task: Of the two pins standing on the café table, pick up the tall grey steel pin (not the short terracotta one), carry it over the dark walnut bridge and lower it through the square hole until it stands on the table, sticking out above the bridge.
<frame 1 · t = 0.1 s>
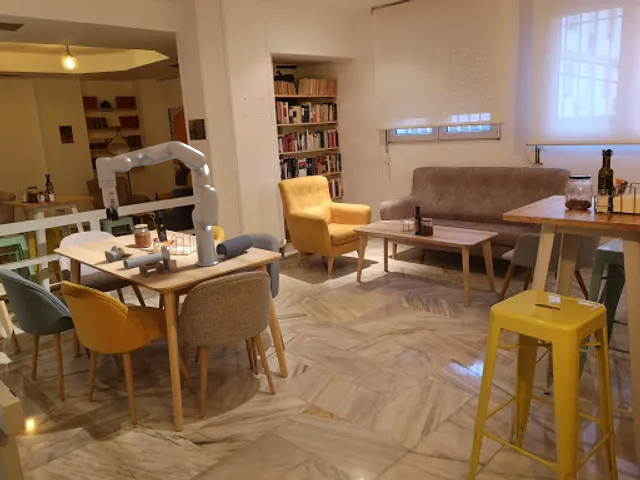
hand: (112, 219, 244), 31 cm above the table, fingers open, 9 cm apart
tube: (147, 264, 283), on the table
walnut bridge: (152, 273, 262), on the table
clay pin short: (173, 271, 263), on the table
bluetooth speaker: (235, 255, 290), on the table, touching arm
steel pin long: (167, 268, 269), on the table
ceramic sculpture: (117, 260, 294), on the table
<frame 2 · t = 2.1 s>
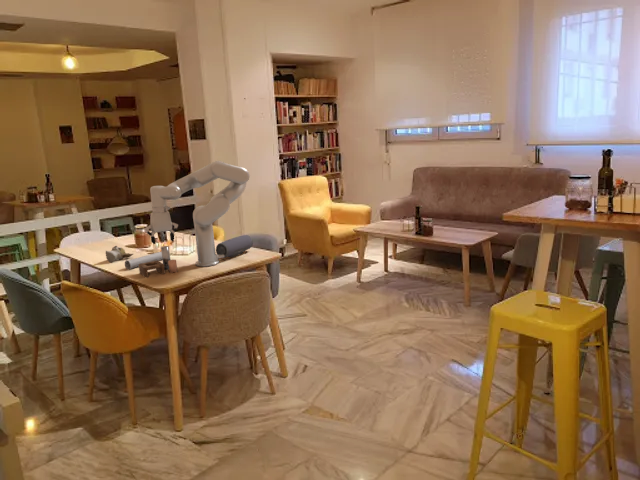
hand: (163, 242, 266), 15 cm above the table, fingers open, 9 cm apart
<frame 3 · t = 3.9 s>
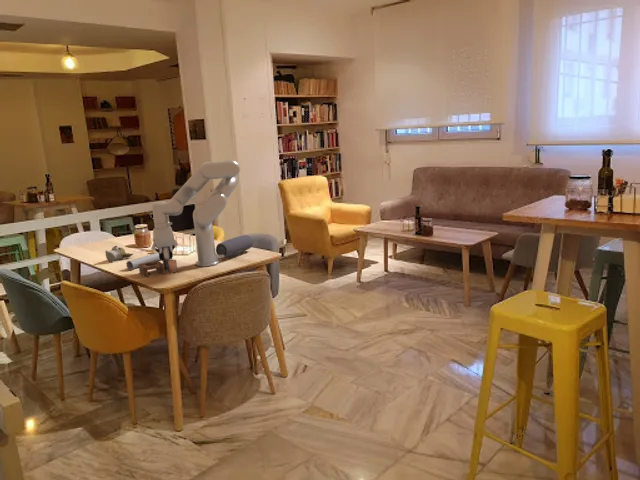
hand: (166, 259, 268), 5 cm above the table, fingers closed on steel pin long, 4 cm apart
steel pin long: (167, 268, 269), on the table, touching gripper
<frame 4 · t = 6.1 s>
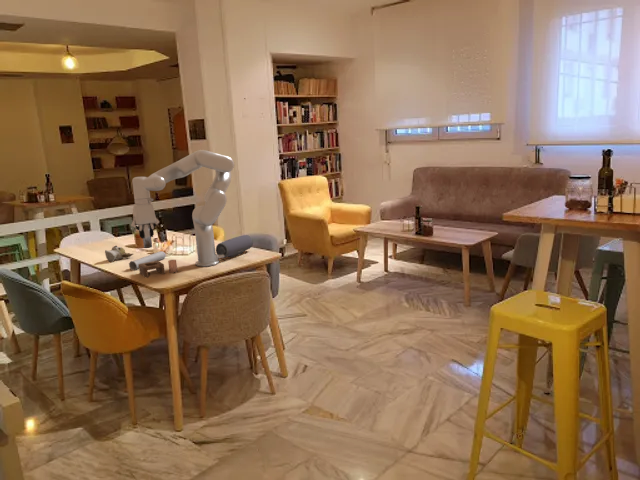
hand: (146, 237, 258), 19 cm above the table, fingers closed on steel pin long, 4 cm apart
steel pin long: (148, 247, 259), point 14 cm above the table, touching gripper
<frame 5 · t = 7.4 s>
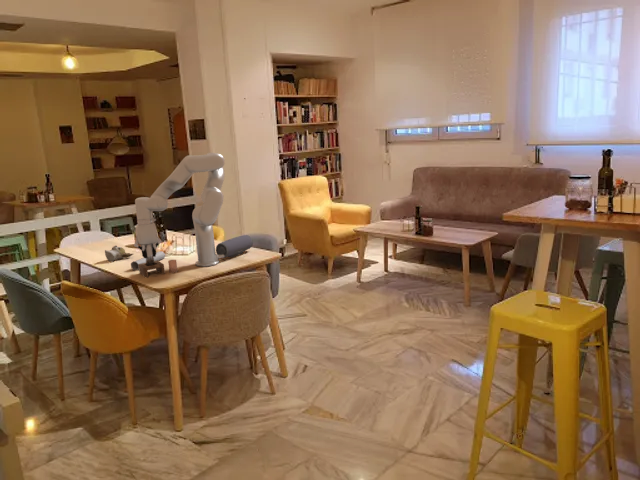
hand: (149, 256, 260), 9 cm above the table, fingers closed on steel pin long, 4 cm apart
steel pin long: (150, 266, 261), point 4 cm above the table, touching gripper
when the fingers open (7 cm above the table, at t = 8.5 s): steel pin long drops 1 cm, on the table.
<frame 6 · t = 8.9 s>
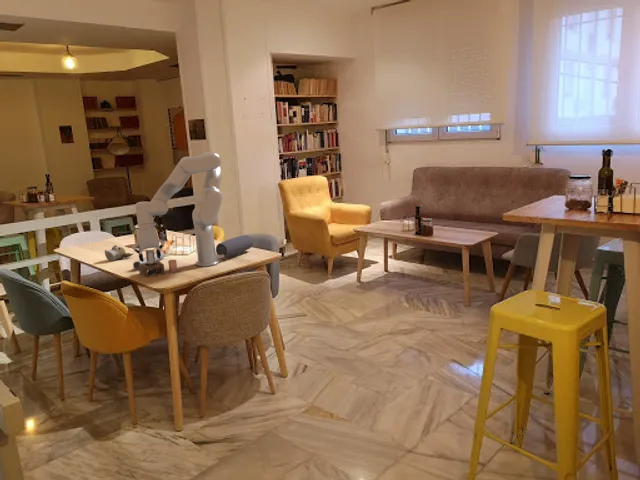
hand: (150, 259, 260), 7 cm above the table, fingers open, 8 cm apart
steel pin long: (152, 273, 262), on the table
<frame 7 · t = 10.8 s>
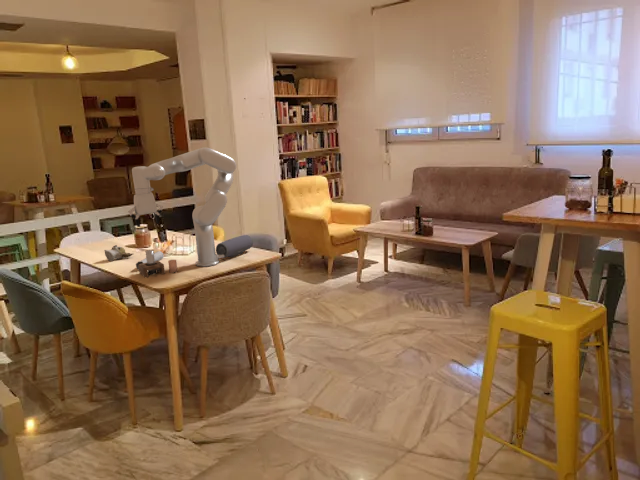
hand: (148, 224, 258), 25 cm above the table, fingers open, 9 cm apart
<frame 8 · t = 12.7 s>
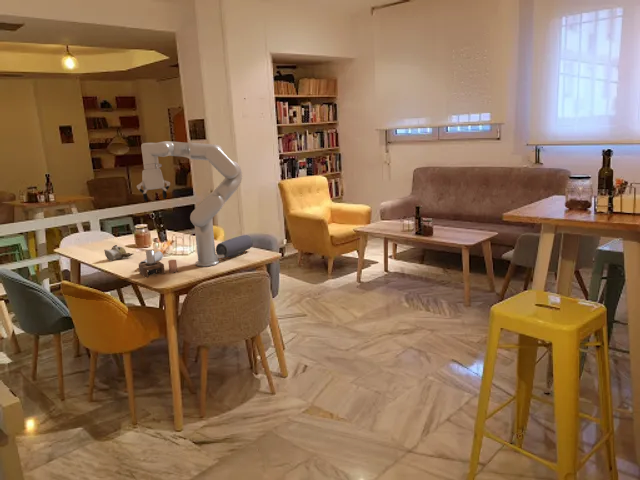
hand: (155, 199, 266), 36 cm above the table, fingers open, 9 cm apart
at the end: steel pin long 0.1 cm off-centre on the walnut bridge, point 0.0 cm above the walnut bridge's base; steel pin long tilted 1°; clay pin short moved 0.0 cm from its start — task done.
